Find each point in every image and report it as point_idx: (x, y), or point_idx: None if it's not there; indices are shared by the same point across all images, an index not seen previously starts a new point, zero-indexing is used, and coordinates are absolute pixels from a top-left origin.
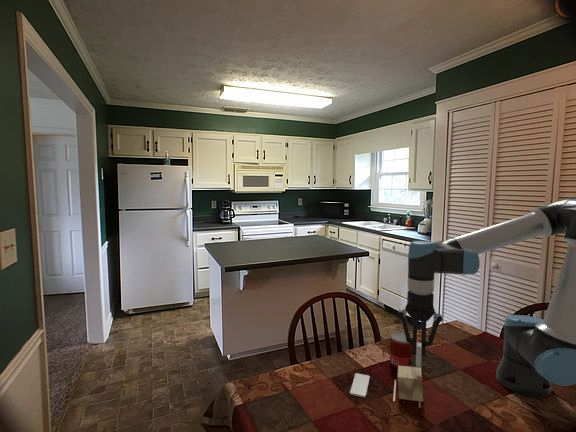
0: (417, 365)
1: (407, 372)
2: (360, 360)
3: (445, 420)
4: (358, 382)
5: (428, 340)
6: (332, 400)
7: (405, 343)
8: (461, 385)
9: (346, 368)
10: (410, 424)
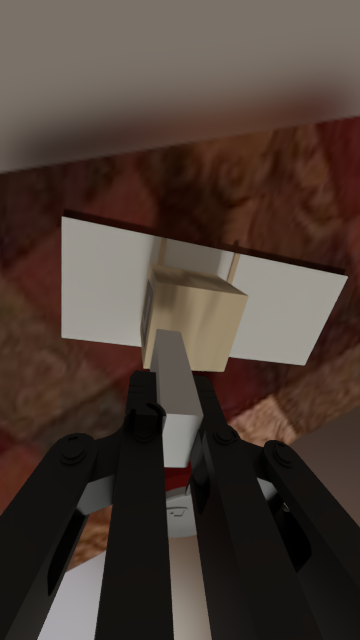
0: (174, 333)
1: (203, 329)
2: (272, 420)
3: (92, 196)
4: (309, 327)
5: (82, 500)
6: None
7: (178, 487)
8: (22, 376)
9: (316, 382)
10: (208, 155)
